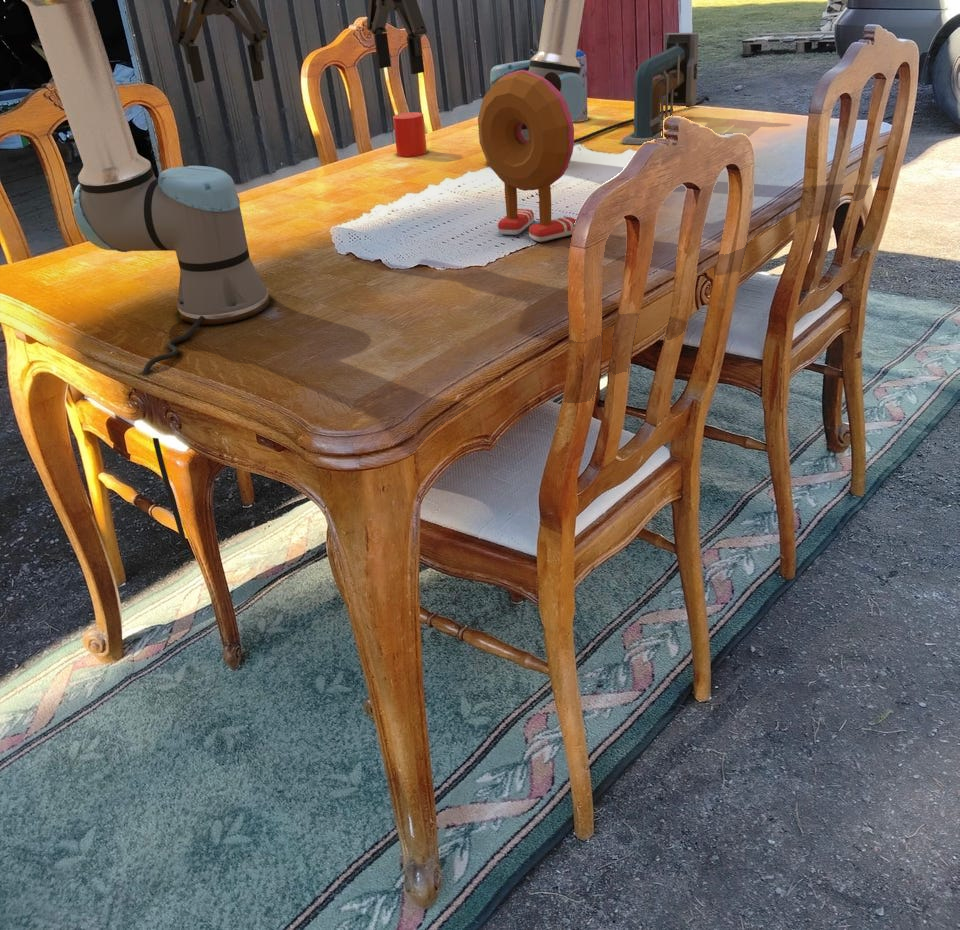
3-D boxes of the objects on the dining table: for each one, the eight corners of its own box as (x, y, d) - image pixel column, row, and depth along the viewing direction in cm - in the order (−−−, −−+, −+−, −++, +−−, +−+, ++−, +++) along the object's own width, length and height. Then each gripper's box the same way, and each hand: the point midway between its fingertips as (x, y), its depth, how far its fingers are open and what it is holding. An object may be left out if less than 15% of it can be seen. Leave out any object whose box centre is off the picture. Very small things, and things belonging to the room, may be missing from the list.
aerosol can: (559, 122, 275) (557, 47, 265) (562, 117, 282) (559, 42, 272) (587, 121, 274) (585, 45, 263) (589, 115, 280) (587, 41, 270)
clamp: (652, 144, 244) (653, 54, 234) (619, 143, 248) (619, 54, 237) (695, 115, 270) (698, 32, 259) (665, 114, 274) (667, 33, 263)
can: (425, 155, 253) (421, 117, 248) (395, 157, 254) (391, 119, 249) (427, 148, 260) (424, 111, 255) (398, 150, 261) (394, 113, 256)
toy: (594, 233, 186) (591, 67, 171) (560, 248, 180) (555, 77, 165) (511, 217, 199) (502, 62, 184) (477, 231, 193) (465, 71, 178)
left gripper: (274, -46, 179) (293, 76, 190) (161, -38, 187) (185, 79, 198) (253, -43, 173) (274, 82, 184) (137, -35, 181) (164, 85, 192)
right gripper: (340, -44, 196) (356, 68, 207) (401, -43, 178) (416, 79, 189) (372, -48, 199) (387, 62, 210) (436, -48, 181) (448, 72, 192)
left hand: (228, 81), depth 191 cm, fingers open, 13 cm apart
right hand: (400, 70), depth 200 cm, fingers open, 13 cm apart
